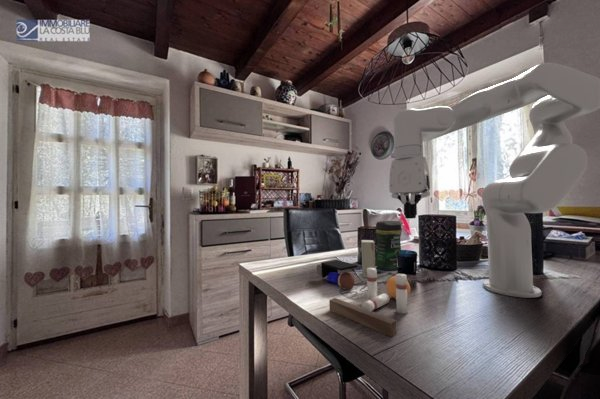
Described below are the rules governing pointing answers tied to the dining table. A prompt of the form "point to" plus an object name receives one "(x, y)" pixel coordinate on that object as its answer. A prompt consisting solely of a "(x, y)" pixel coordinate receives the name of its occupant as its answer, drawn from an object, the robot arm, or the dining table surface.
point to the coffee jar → (388, 244)
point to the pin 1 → (371, 283)
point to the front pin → (376, 302)
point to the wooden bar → (364, 316)
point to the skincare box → (367, 255)
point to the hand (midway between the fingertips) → (410, 218)
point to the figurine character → (331, 273)
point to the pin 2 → (401, 293)
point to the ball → (394, 287)
